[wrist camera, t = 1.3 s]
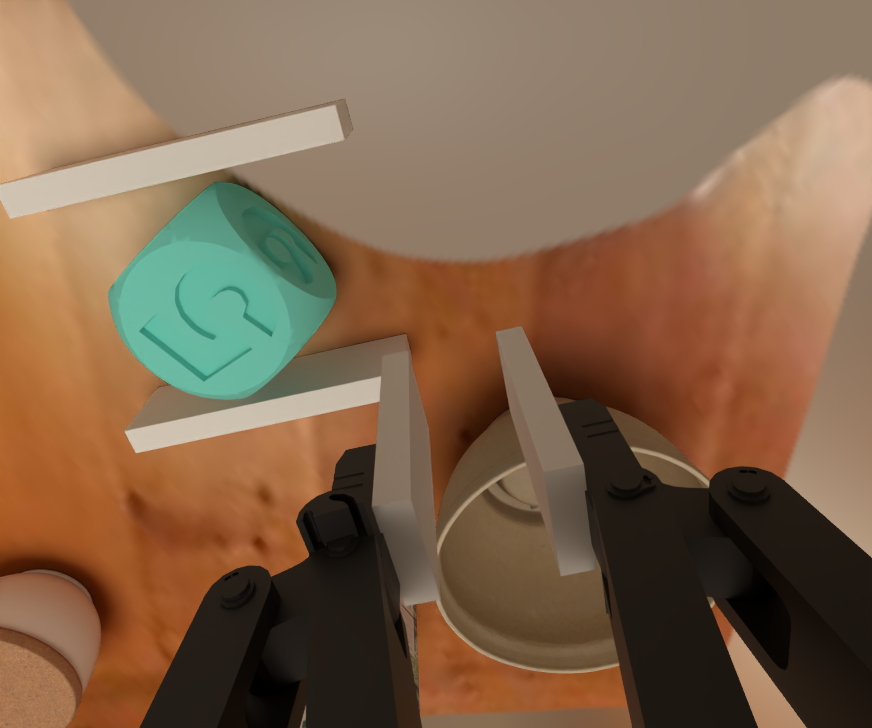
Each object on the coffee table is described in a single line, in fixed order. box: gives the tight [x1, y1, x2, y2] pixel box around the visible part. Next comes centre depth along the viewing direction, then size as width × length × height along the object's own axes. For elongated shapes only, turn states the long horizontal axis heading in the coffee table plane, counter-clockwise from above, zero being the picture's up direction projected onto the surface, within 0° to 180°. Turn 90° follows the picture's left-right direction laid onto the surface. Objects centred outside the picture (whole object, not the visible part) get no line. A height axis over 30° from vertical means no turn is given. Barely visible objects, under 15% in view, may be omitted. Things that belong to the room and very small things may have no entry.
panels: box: [0, 99, 412, 453], centre depth 32 cm, size 16×15×5 cm
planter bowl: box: [436, 397, 715, 673], centre depth 37 cm, size 16×16×11 cm
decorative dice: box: [108, 182, 337, 400], centre depth 31 cm, size 8×8×8 cm
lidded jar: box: [0, 569, 101, 728], centre depth 41 cm, size 11×11×9 cm
